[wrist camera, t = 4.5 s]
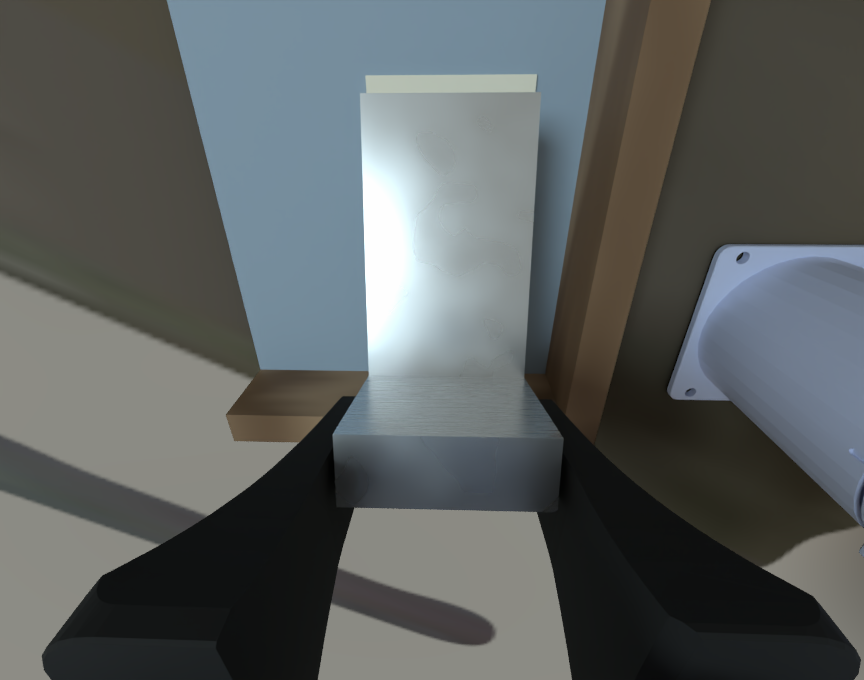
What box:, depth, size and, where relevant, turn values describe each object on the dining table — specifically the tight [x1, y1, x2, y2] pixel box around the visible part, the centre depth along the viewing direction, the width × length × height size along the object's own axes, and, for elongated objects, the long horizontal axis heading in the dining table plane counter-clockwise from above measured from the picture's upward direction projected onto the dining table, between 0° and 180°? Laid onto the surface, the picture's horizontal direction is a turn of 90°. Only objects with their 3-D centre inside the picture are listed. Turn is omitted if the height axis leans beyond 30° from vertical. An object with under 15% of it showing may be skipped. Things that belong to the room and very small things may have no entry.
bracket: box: [333, 92, 564, 512], centre depth 11 cm, size 10×5×6 cm, turn 0°
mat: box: [167, 0, 606, 374], centre depth 14 cm, size 16×26×1 cm, turn 0°
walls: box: [226, 0, 711, 445], centre depth 13 cm, size 16×26×4 cm, turn 0°
